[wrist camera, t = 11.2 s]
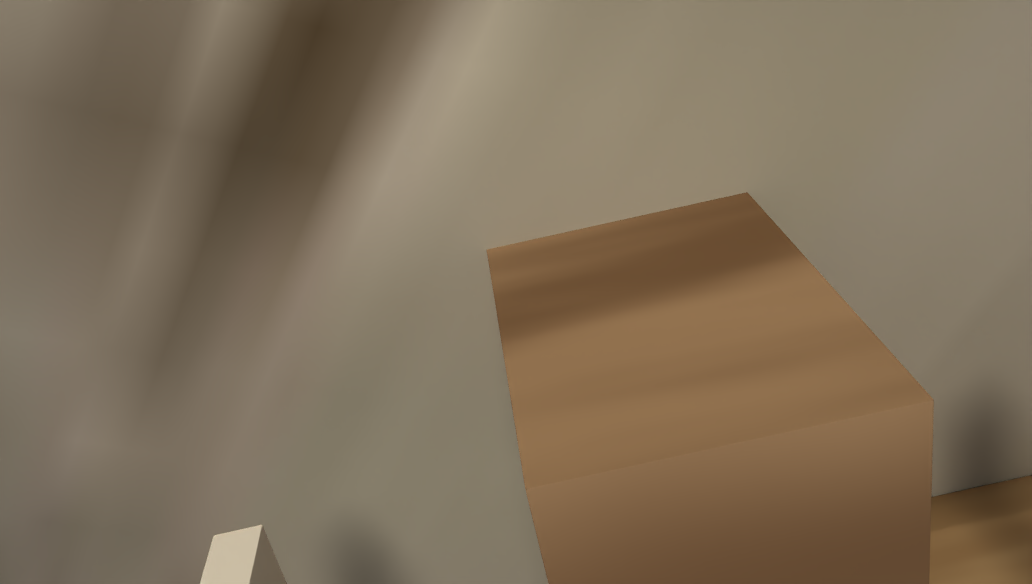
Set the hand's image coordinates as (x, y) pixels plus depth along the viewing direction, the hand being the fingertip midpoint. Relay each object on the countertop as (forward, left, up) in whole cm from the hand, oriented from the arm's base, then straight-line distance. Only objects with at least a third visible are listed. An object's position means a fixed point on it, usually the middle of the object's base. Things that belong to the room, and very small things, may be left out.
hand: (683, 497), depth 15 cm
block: (0, 0, -5) cm, 5 cm away
